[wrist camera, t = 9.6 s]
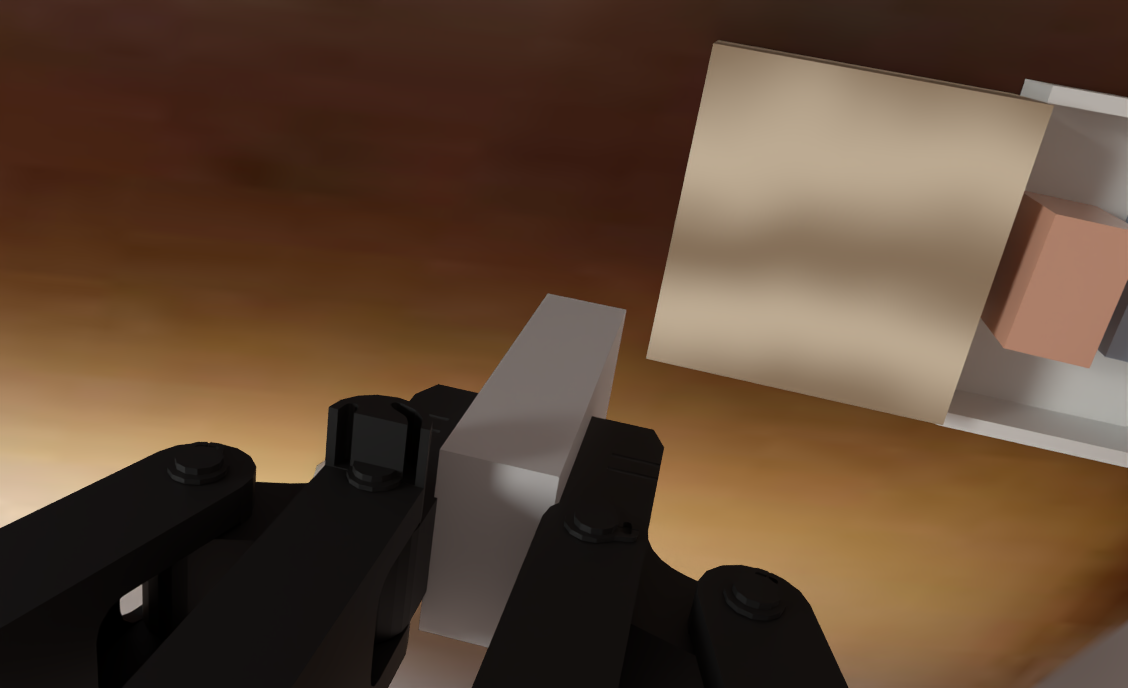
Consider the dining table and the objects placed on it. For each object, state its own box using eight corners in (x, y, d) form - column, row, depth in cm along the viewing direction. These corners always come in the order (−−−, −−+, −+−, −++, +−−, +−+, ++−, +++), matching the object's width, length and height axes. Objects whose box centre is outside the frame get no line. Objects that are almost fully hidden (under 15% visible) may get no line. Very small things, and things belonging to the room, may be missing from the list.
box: (1025, 78, 35) (1053, 85, 32) (1325, 132, 34) (1385, 144, 31) (921, 391, 40) (936, 424, 37) (1181, 449, 39) (1220, 488, 36)
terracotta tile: (1056, 214, 32) (1147, 234, 31) (1017, 188, 36) (1096, 206, 36) (1003, 348, 33) (1089, 368, 33) (972, 307, 38) (1047, 325, 38)
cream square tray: (718, 39, 37) (713, 43, 32) (1014, 93, 36) (1054, 105, 31) (657, 320, 41) (646, 358, 37) (920, 377, 40) (942, 425, 35)
